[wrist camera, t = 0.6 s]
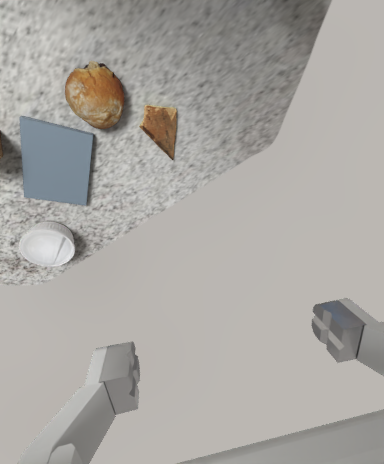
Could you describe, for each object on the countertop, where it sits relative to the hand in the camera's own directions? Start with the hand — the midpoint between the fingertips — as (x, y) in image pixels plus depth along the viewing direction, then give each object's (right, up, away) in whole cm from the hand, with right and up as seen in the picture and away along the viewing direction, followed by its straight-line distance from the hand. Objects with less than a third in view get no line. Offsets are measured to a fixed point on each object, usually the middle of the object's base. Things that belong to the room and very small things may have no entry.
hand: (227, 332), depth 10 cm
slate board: (-29, +18, +39) cm, 52 cm away
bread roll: (-19, +30, +34) cm, 49 cm away
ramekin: (-36, +3, +48) cm, 61 cm away
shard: (-7, +27, +41) cm, 50 cm away
